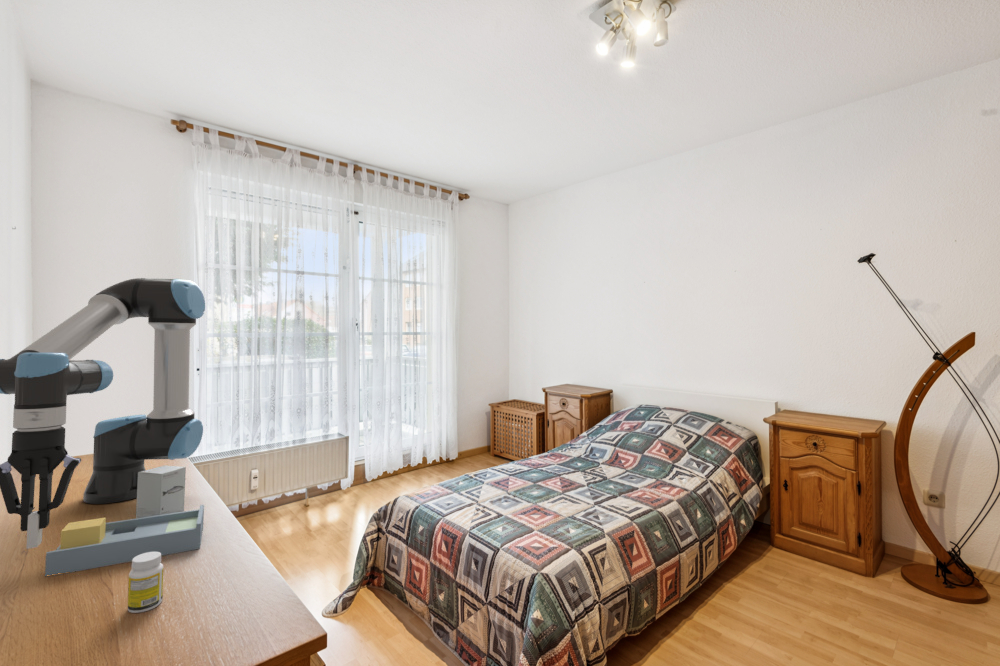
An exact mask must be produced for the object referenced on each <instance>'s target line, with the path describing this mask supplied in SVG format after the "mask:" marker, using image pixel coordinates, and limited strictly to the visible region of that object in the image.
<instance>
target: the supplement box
mask: <svg viewBox="0 0 1000 666" xmlns="http://www.w3.org/2000/svg"><path fill="white" fill-rule="evenodd" d="M186 468H187V467H186V466H178V465H161V466H158V467H157V466H156V467H153V468H150V469H145V471H141V472H138V484H137V498H136V506H135V507H136V509H135V510H136V511H135V519H136V518H143V517H150V516H157V515H164V514H170V513H177V512H184V511H185V493H186V472H187V471H186V470H187V469H186Z"/></svg>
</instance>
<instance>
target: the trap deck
mask: <svg viewBox="0 0 1000 666" xmlns="http://www.w3.org/2000/svg"><path fill="white" fill-rule="evenodd" d="M204 512H205V504H200V505H199V509H191V510H186V511H185V510H184V512H177V513H170V514H164V515H157V516H150V517H143V518H136V517H135V518H130V519H123V520H117V521H109V522H106V527H105V537H104V538H103V540H102V542H101V543H98V544H92V545H86V546H80V547H74V548H68V549H62V550H60V544H59V546H57V548H55V550H50V551H47V552H46V553H45V566H44V567H45V568H44V569H45V571H44V577H45V576H47V575H52V574H58V573H65V574H67V573H66V572H70V573H74V572H75V571H76V572H79V571H86V570H91V569H97V568H101V567H108V566H112V565H118V564H124V563H129V562H132V559H133V558H134V557H136V556H138V555H140V554H143V553H147V552H160V553H161V557H162V556H167V555H168V556H169V555H172V554H173V555H174V554H177V553H184V552H188V551H195V550H199V549H201V546H202V545H201V544H202V543H201V542H202V537H203V532H202V531H204V514H205V513H204Z"/></svg>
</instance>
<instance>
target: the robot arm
mask: <svg viewBox="0 0 1000 666" xmlns="http://www.w3.org/2000/svg"><path fill="white" fill-rule="evenodd" d="M205 311H206V300H205V297H204V293H203V291H202V289H201V288H200V286H199V285H198V284H197V283H196V282H194V281H192V280H190V279H189V280H188V279H181V278H180V279H179V278H146V277H137V278H131V279H128V280H127V279H126V280H123V281H120V282H118V283H115V284H113V285H111V286H108V287H107V288H104V289H102V290H101V291H99V292H98V293H96V294H95V295H93V296H91V297H90V299H89V300H88V303H87V305H86V306H84V307H83V308H82V309H80V310H78V311H77V312H75V313H74V314H73V315H72V316H69V317H68V318H67V319H65V320H64V321H63V322H61V323H59V324H58V325H57V326H56V327H54V328H53V329H51V330H49V332H47V333H46V334H44V335H42V336H41V337H39V338H37V339H36V341H33V342H32V343H31V344H29V345H28V346H26V347H25V348H23V349H22V350H21V351H19V352H18V353H16V354H15V355H13V356H11V357H10V358H8V359H5V358H0V394H1V395H3V394H4V395H14V404H13V412H12V413H13V419H12V420H13V421H12V429H16V430H14V432H12V437H11V452H10V455H8V457H7V461H4V462H3V463H0V493H1V495H2V498H3V501H4V505H5V508H6V510H7V511H6V512H7V514H10V515H13V514H15V515H18V516H19V515H20V531H21V532H26V548H25V550H26V549H34V548H38V547H39V545H41V543H43V529H46V528H47V527H48V526H49V524H50V520H51V519H50V517H51V516H50V515H51V511H52V510H54V509H58V507H60V506H61V505H62V503H64V499H65V496H66V494H67V492H68V491H67V490H68V489H69V486H70V483H71V480H72V478H73V474H74V472H75V469H76V468H77V467H78V466H79V464H80V463H81V462H82V458H81V457H76V458H75V457H73V456H71V455H69V453H68V450H67V449H66V447H65V446H66V445H65V444H66V428H65V426H64V425H65V424H67V399H68V396H71V395H72V396H73V395H81V394H94V393H97V392H99V391H103V390H106V389H107V388H108V387H109V386H110V385H111V384H112V382H113V381H114V380H113V379H114V371H113V369H112V367H111V366H110V365H109V364H108V362H105V361H102V360H96V359H83V360H74V359H73V358H74V357H75V356H77V355H78V354H79V353H80V352H82V351H83V350H84V349H86V348H87V347H88V346H89V345H90V344H92V343H93V342H95V340H96V339H98V338H99V337H101V336H102V335H103V334H104V333H106V332H107V331H108V330H109V329H110V328H112V327H113V326H114V325H120V324H123V323H124V322H126V321H127V320H129V319H133V318H147V319H148V320H147V321H148V322H147V323H148V325H149V326H150V327H152V328H153V329H154V341H153V342H154V343H153V344H154V345H153V346H154V349H153V350H154V352H153V354H154V355H153V400H152V401H153V409H152V410H151V411H150V412H149V413H148V414H147V415H146V414H135V415H127V416H121V417H120V416H119V417H113V418H110V419H109V418H108V419H104V420H101V421H99V422H98V423H96V424H95V426H94V435H93V454H92V455H93V456H92V457H93V460H92V473H91V476H90V478H89V480H88V482H87V484H86V487H85V489H84V492H83V499H82V500H83V503H85V504H91V505H92V504H93V505H97V504H98V505H102V504H111V503H112V504H113V503H119V502H126V501H130V500H133V499H137V484H138V472H141V471H145V470H146V468H145V460H171V461H173V460H181V459H187V458H190V457H191V456H192V455H193V454H194V453H195V452H196V451H197V449H198V447H199V446H200V444H201V443H202V437H203V433H204V425H203V423H202V421H201V420H200V419H197V418H195V411H193V409H191V408H190V407H189V405H190V404H189V402H190V351H191V349H190V346H191V345H190V343H191V342H190V341H191V339H190V338H191V329H193V327H195V326H196V325H197V319H200V318H202V317H203V316H204V314H205V313H204V312H205ZM71 359H73V360H71ZM62 462H63V465H62V466H63V468H64V470H63V472H62V473H61V476H60V480H59V482H58V485H57V488H56V490H55V493H54V496H53V499H52V494H53V493H52V492H53V491H52V487H53V475H54V470H56V468H58V467H59V465H60V464H62ZM12 468H13V469H15V471H17V472H18V473H19V474H20V481H21V491H20V495H21V496H20V497H19V495H18V491H17V488H16V484H15V481H14V478H13V475H12V473H11V471H12ZM36 475H38V480H39V491H38V493H39V494H38V510H35V511H33V510H34V509H35V507H34V505H35V504H34V502H35V487H36V486H35V484H36V480H35V479H36V477H37V476H36Z"/></svg>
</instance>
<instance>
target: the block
mask: <svg viewBox="0 0 1000 666" xmlns="http://www.w3.org/2000/svg"><path fill="white" fill-rule="evenodd" d="M106 520H107V518H106V517H100V518H99V517H98V518H93V519H84V520H78V521H73V522H68V523H67V524H66V525H65V527H63V528H62V529H61V531H60V544H59V545H60V550H62V549H68V548H74V547H80V546H86V545H92V544H98V543H101V542H102V540H103V538H104V537H105V527H106V523H107V521H106Z"/></svg>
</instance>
